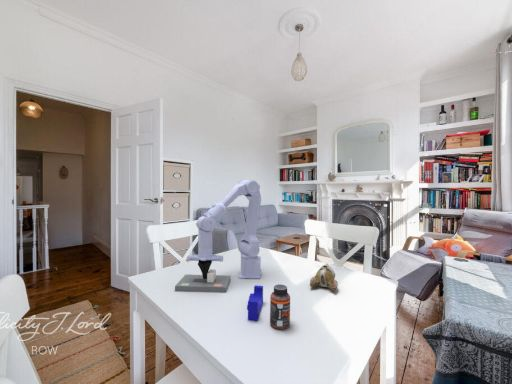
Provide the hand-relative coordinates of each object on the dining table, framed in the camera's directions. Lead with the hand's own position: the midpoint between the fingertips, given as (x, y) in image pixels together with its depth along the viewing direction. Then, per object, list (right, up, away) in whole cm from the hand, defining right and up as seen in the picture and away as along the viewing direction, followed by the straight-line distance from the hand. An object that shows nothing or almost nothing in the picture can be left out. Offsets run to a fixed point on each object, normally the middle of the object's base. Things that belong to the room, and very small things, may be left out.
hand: (205, 278), depth 97 cm
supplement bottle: (+28, -4, -27) cm, 39 cm away
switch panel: (0, -3, 0) cm, 3 cm away
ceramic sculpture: (+50, -4, +1) cm, 50 cm away
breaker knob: (+3, -1, 0) cm, 3 cm away
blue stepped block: (+20, -4, -19) cm, 28 cm away
